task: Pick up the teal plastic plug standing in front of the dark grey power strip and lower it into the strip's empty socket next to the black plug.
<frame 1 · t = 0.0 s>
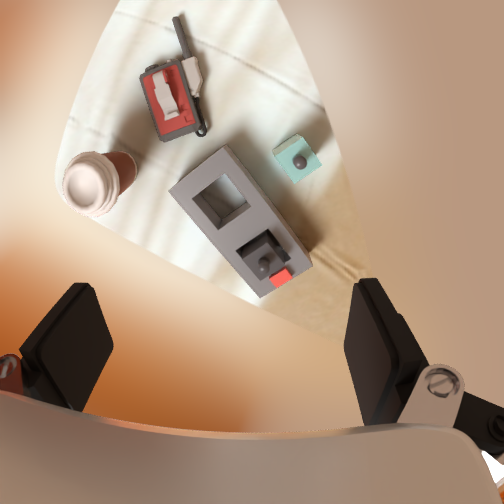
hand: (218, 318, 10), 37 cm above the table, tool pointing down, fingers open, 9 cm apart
plug: (292, 153, 43), on the table
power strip: (244, 218, 48), on the table
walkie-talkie: (174, 80, 39), on the table
coffee cup: (120, 169, 45), on the table
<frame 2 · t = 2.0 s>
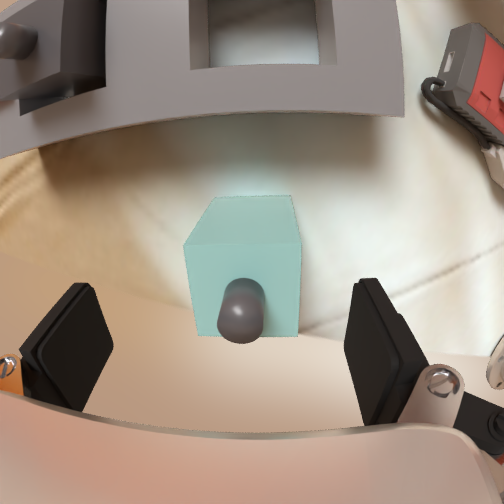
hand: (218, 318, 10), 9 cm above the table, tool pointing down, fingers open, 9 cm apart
plug: (253, 231, 18), on the table
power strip: (174, 39, 14), on the table
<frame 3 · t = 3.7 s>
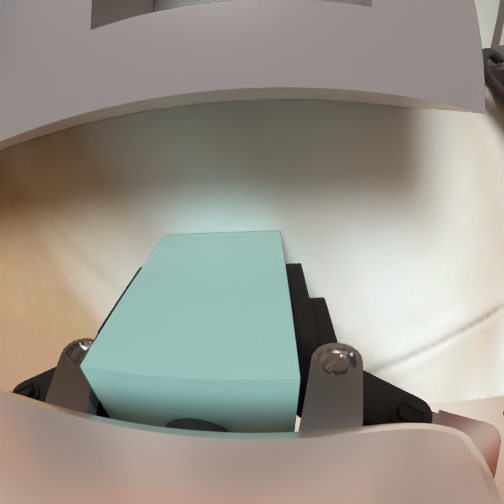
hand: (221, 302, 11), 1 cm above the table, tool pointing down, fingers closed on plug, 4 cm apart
plug: (225, 283, 12), on the table, touching gripper
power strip: (106, 2, 7), on the table
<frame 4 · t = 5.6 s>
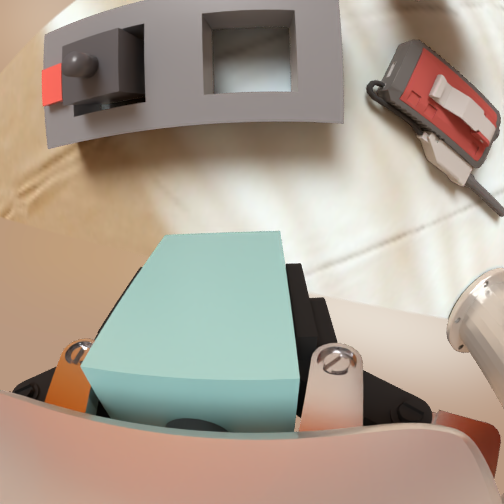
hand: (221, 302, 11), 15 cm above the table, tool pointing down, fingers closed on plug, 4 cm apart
plug: (225, 283, 12), point 14 cm above the table, touching gripper
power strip: (188, 65, 20), on the table
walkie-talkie: (454, 131, 22), on the table
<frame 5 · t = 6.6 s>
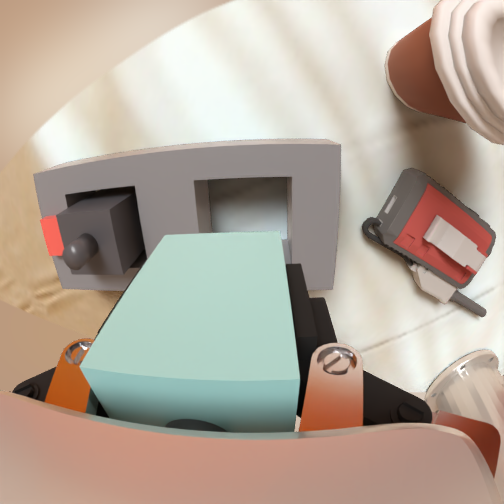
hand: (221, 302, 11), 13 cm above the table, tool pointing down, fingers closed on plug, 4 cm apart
plug: (225, 283, 12), point 12 cm above the table, touching gripper
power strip: (185, 207, 24), on the table
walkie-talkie: (446, 248, 25), on the table
coffee cup: (419, 75, 18), on the table
when the fingers open (5 cm above the table, at t = 8.8 s): plug drops 4 cm, resting in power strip.
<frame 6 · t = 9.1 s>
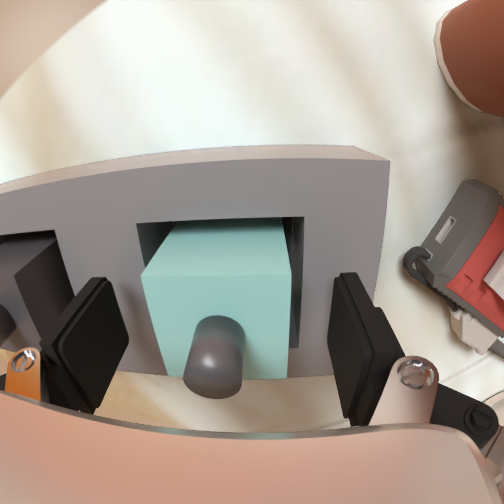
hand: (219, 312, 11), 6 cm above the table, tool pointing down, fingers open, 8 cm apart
plug: (235, 244, 16), resting in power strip
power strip: (142, 247, 16), on the table
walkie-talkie: (491, 285, 17), on the table
coffee cup: (475, 60, 11), on the table
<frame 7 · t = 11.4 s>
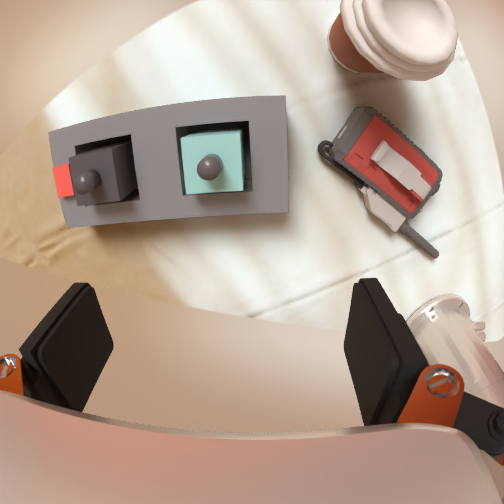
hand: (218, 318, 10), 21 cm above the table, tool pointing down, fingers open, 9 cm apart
plug: (221, 151, 28), resting in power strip
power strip: (169, 156, 28), on the table
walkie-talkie: (397, 183, 30), on the table
coffee cup: (358, 44, 23), on the table
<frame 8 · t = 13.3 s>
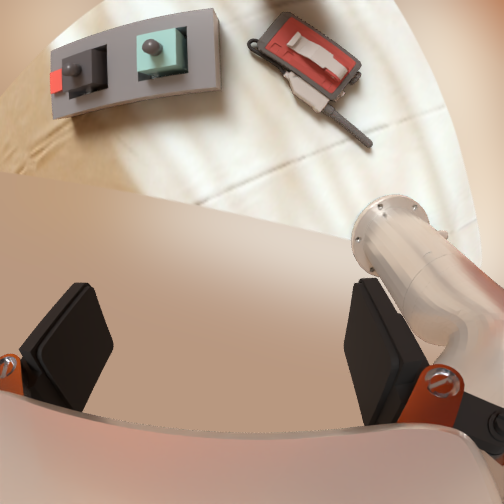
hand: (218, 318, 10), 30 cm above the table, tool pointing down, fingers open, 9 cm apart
plug: (173, 59, 32), resting in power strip
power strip: (136, 66, 32), on the table
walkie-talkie: (322, 77, 33), on the table
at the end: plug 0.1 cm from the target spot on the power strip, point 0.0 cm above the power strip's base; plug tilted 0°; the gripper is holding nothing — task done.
